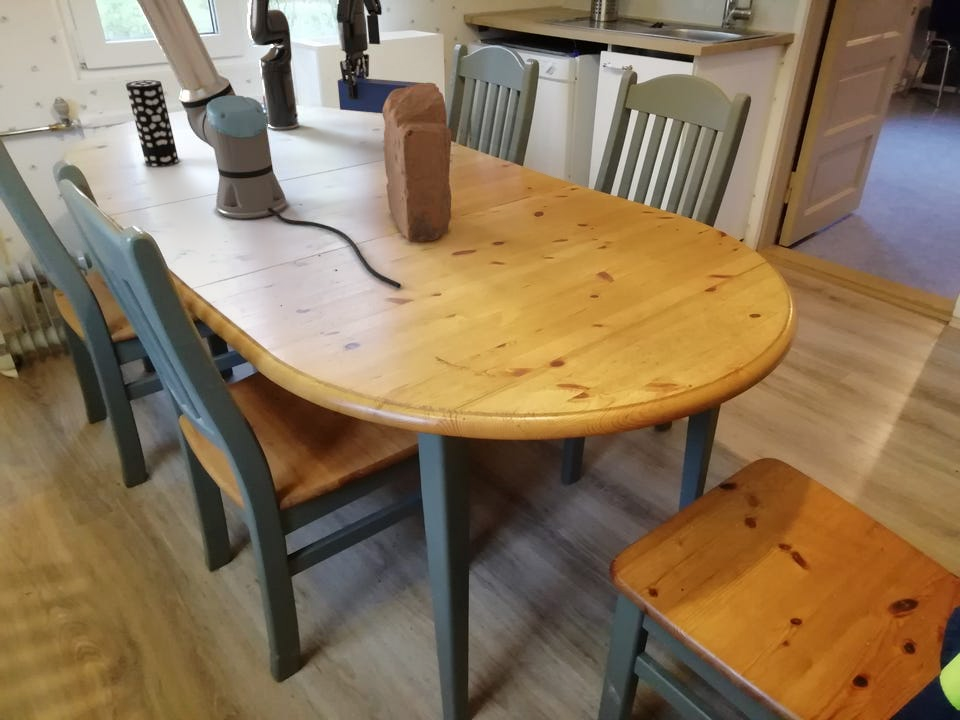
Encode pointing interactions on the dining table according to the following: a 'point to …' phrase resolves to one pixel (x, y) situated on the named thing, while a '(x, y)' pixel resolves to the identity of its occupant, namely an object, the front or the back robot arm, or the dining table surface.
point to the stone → (418, 161)
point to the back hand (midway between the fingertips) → (357, 96)
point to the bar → (368, 94)
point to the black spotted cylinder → (152, 122)
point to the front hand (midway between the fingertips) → (363, 48)
